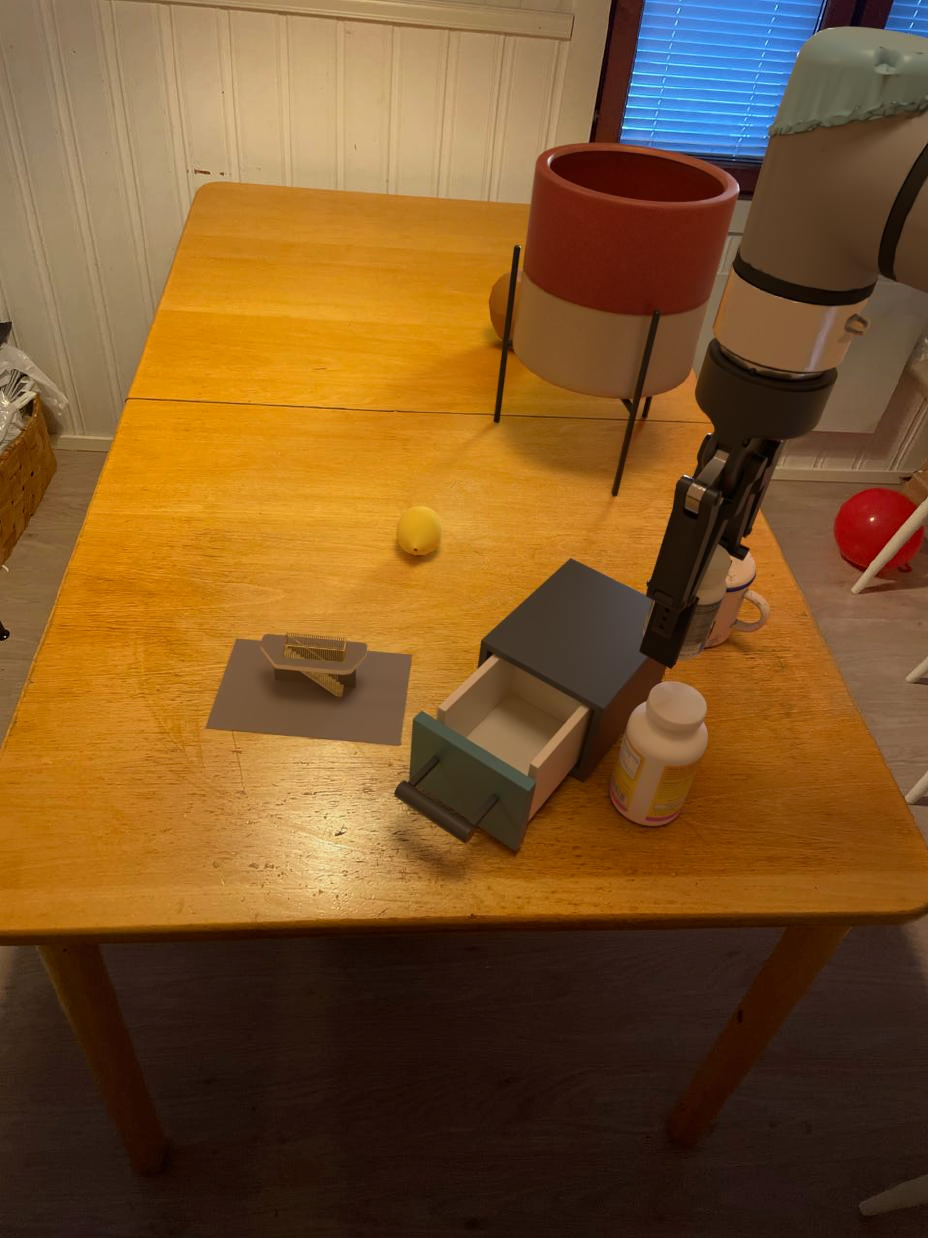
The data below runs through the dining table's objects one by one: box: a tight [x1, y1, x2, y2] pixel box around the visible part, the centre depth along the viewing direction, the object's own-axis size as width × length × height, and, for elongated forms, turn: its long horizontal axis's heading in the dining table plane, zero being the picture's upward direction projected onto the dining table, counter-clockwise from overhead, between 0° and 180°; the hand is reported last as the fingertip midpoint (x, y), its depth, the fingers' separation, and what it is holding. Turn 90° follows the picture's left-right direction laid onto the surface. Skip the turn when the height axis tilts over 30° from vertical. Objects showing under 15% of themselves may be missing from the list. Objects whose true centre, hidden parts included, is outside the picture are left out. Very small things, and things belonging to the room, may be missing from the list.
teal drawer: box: [393, 654, 595, 851], centre depth 75 cm, size 19×11×8 cm, turn 144°
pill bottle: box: [643, 544, 731, 662], centre depth 64 cm, size 5×5×8 cm
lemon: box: [395, 505, 444, 556], centre depth 101 cm, size 7×5×5 cm
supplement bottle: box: [608, 680, 709, 827], centre depth 75 cm, size 7×7×13 cm
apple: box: [488, 268, 523, 351], centre depth 142 cm, size 13×13×11 cm
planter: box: [493, 142, 740, 497], centre depth 112 cm, size 24×25×35 cm
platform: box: [204, 631, 413, 746], centre depth 83 cm, size 12×18×7 cm, turn 87°
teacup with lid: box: [704, 551, 771, 648], centre depth 93 cm, size 12×9×12 cm
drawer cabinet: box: [476, 557, 667, 783], centre depth 84 cm, size 16×13×10 cm
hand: (674, 638), depth 67 cm, fingers closed on pill bottle, 5 cm apart
